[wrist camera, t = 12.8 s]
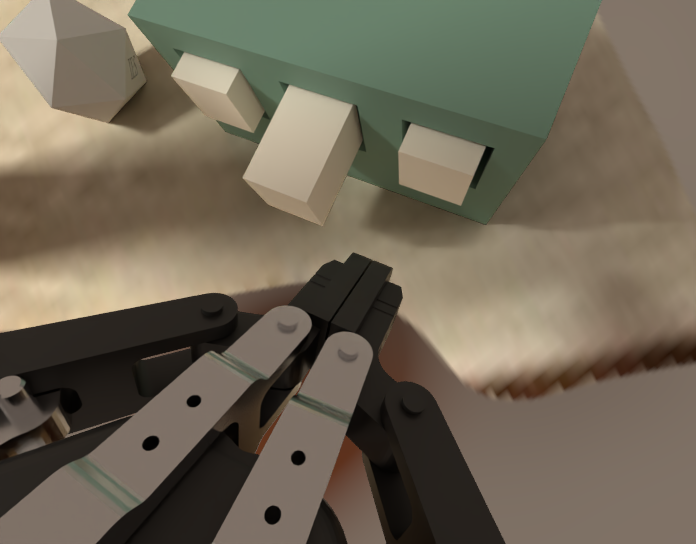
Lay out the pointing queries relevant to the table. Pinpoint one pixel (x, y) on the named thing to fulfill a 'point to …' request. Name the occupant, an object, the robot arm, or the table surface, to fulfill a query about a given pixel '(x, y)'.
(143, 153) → the table surface
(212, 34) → the console
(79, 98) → the die
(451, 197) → the button right
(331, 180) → the button mid
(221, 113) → the button left
